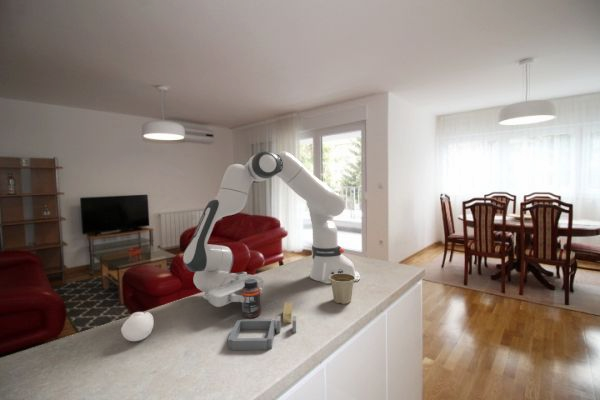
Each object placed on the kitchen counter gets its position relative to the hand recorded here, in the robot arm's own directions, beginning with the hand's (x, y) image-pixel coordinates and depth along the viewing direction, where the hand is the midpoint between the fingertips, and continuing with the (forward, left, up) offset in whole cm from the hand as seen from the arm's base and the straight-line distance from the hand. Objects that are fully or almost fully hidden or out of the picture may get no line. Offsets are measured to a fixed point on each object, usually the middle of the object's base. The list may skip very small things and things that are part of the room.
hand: (253, 295), depth 91 cm
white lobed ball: (+30, +13, -7) cm, 33 cm away
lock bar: (-11, +1, -7) cm, 13 cm away
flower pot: (-30, -11, -7) cm, 33 cm away
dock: (-5, +13, -7) cm, 16 cm away
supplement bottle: (+1, -1, -7) cm, 7 cm away
